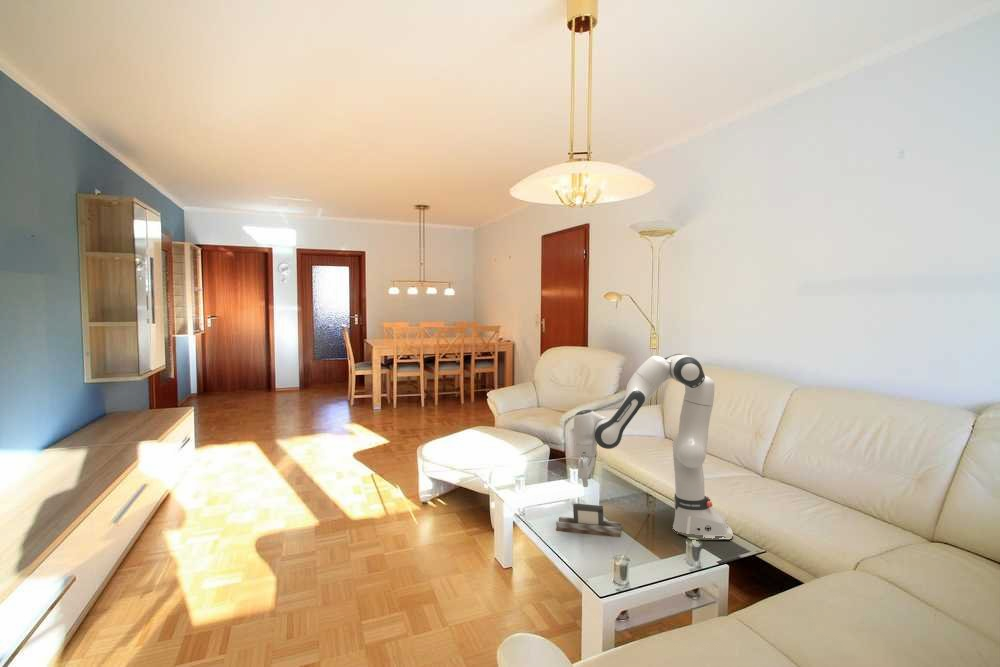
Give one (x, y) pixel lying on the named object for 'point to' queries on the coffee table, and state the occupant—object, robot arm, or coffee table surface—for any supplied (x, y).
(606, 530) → the ledge
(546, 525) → the coffee table surface
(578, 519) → the frame
